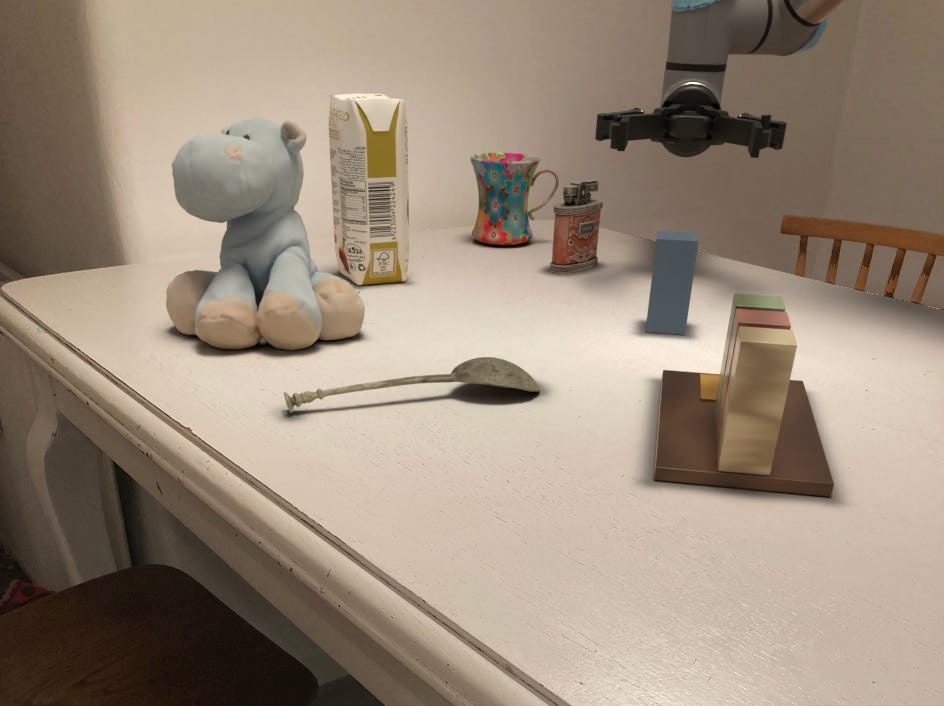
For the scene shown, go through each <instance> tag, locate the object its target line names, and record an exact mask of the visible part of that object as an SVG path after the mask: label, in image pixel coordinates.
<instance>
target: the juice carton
mask: <svg viewBox="0 0 944 706" xmlns="http://www.w3.org/2000/svg"><path fill="white" fill-rule="evenodd" d="M408 131H409V129H408V120H407V112H406V107H405V99H404V98H390V97H389V96H388V95H385V94H384V93H341V94H330V101H329V114H328V140H329V143H328V144H329V159H330V160H329V161H330V180H331V181H330V182H331V199H332V217H333V234H334V235H333V236H334V251H335V256H336V257H335V258H336V260H337V266H338V269H339V272H340V274H342V275H343V276H344V277H346V278H348V279H349V280H351V281H352V283H354V284H355V285H358V286H365V285H366V286H367V285H378V284H379V285H380V284H390V283H401V282H406V281H407V276H408V271H409V270H408V268H409V259H410V218H409V217H410V213H409V209H410V207H409V203H410V202H409V200H410V199H409V136H408V134H409V132H408Z"/></svg>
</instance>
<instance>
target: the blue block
mask: <svg viewBox="0 0 944 706" xmlns="http://www.w3.org/2000/svg"><path fill="white" fill-rule="evenodd" d="M699 240H700V239H699V233H698V232H688V231H672V230H671V231H670V230H657V233H656V241H655V247H654V248H655V249H654V257H653V265H652V274H651V283H650V290H649V297H648V306H647V315H646V322H645V331H644V332H645V333H649V334H650V333H651V334H665V335H679V336H685V335H686V331H687V324H688V317H689V312H690V311H689V310H690V304H691V297H692V289H693V282H694V275H695V268H696V262H697V256H698V248H699V242H700V241H699Z"/></svg>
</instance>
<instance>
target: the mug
mask: <svg viewBox="0 0 944 706" xmlns="http://www.w3.org/2000/svg"><path fill="white" fill-rule="evenodd" d="M469 159H470V163H471V165H472V169H473V171H474V175H475V179H476V185H477V190H478V191H477V193H478V210H477V216H476V220H475V223H474V226H473V229H472V231H471V236H472V238H473V239H474V240H476V241H479V242H481V243H483V244H486V245H487V244H488V245H493V246H516V245H521V244H523V243H526V242H528V241H530V240H532V238H533V236H534V235H533V231H532V229H531V225H530V221H529V219H530V220H531V221H534V220H535V217H534V216H533V215H532V213H535V212H536V211H539V210H540V209H541V208H542V209H543V207H545V206H546V205H547V204H548V203H549V202H550V201H551V200H552V198H553V197H554V195H555V193H556V192H557V190H558V188H559V182H560V179H559V178H560V177H559V176H558V174H557V172H556V171H554V170H553V169H551V168H544V169H541V170H539V171H538V172H536V170H537V168H538V166H539V164H540V161H541V158H540V157H539V156H536V155H533V154H526V153H516V152H483V153H475V154H472V155H470V157H469ZM535 173H536V174H535ZM545 173H549V174H550V175H553V176H554V178H555V184H554V187H553V189H552V191H551V192H550V194H549V195H548V197H547V198H546V199H545V200H544V201H542V202H541V203H540V204H539V205H537V206H535V207H533V208H532V209H529V208H528V207H529V205H528V204H529V196H530V190H531V187H534V184H535V183H536V180H537V178H538V177H539V176H541V175H543V174H545ZM528 209H529V210H528Z"/></svg>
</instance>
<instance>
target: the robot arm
mask: <svg viewBox="0 0 944 706" xmlns="http://www.w3.org/2000/svg"><path fill="white" fill-rule="evenodd" d="M848 1H849V0H672V1H671V5H670V8H671V13H670V22H669V23H670V25H669V37H668V46H667V56H666V61H665V68H664V72H663V81H662V89H661V98H660V102H659V103H660V104H659V107H655V108H654V110H653V112H650V113H649V112H648V113H645V110H643V109H641V108H639V107H634V108H630V109H628V110H620V111H614V112H613V111H612V112H607V113H605V112H600V113H598V114H596V122H595V123H596V124H595V133H594V134H595V136H594V140H596V141H598V142H603V141H606V140H610V145H609V149H611V150H616V152H625V151H626V149H627V146H628V143H629V142H630V141H641V140H643V141H644V140H650V141H651V143H652V142H653V143H657V144H661V145H662V146H663V148H664V149H665V150H666V151H667V152H669V153H670V154H672V155H674V156H676V157H679V158H692V157H696V156H699V155H701V154H702V153H704V152H706V151H707V150H708V149H709V148H711V147H712V146H723V145H724V144H725V143H726V144H731V145H737V146H741V147H747V152H748V154H749V157H750V158H753V159H759V156H760V151H763V150H764V149H766V148H769V149H773V150H774V151H780V150H782V149H783V146H784V142H785V137H786V133H787V132H786V131H787V125H788V123H787V122H785V121H783V120H779V121H778V120H774V119H772V116H773V115H772V114H761V116H760V117H759V116H756V115H753V114H750V113H749V112H744V113H743V112H742V113H740V114H737V116H736V117H734V116H730V113H729V112H728V110H724V109H723V110H722V107H721V106H722V105H721V103H722V96H723V90H724V84H725V83H724V82H725V76H726V70H727V64H728V59H729V56H730V55H732V56H733V55H734V56H735V55H736V56H737V55H739V56H740V55H743V56H744V55H750V56H751V55H752V56H753V55H755V56H756V55H759V56H761V55H762V56H778V57H788V56H791V55H797V54H804V53H807V52H808V51H810V50H811V49H813V48H814V47H815V46H816V45H817V44H818V43H819V41H820V39H821V37H822V35H823V33H824V32H825V30H826V28H827V27H828V26H827V25H828V22H829V17H830V16H831V15H833V14H834V13H835V12H836V11H837V10H839V8H841V7H842V6H843V5H844V4H846V3H847V2H848Z"/></svg>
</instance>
